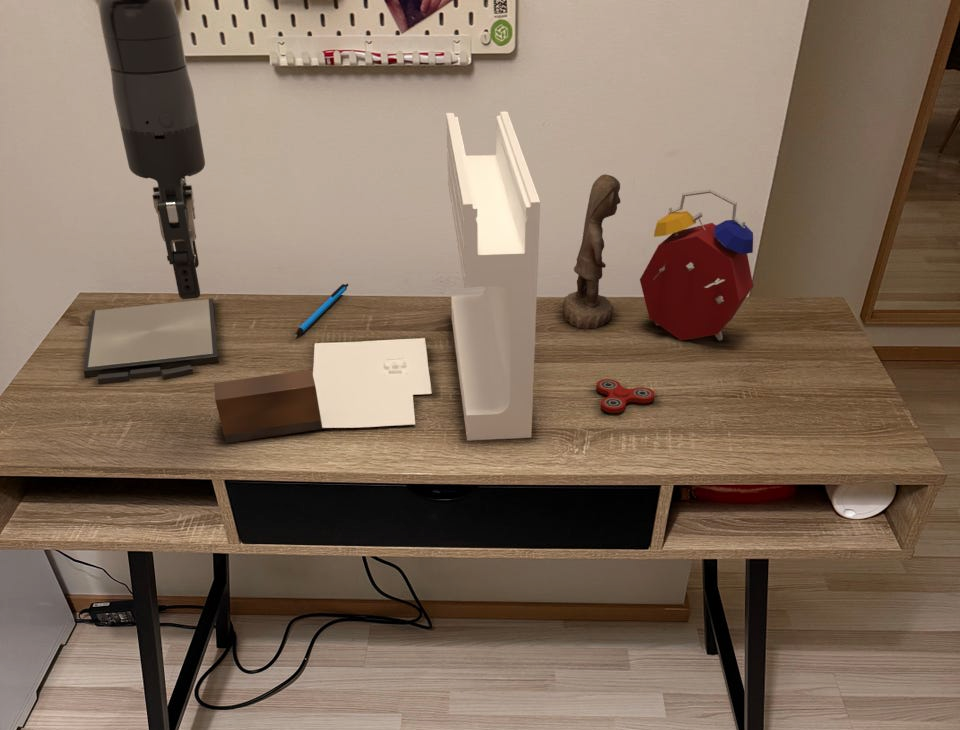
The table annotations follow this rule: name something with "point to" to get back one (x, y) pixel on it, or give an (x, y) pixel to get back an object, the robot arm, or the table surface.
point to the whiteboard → (151, 337)
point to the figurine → (592, 259)
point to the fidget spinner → (621, 395)
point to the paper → (370, 382)
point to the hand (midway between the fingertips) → (189, 281)
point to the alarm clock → (697, 273)
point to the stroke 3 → (177, 372)
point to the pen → (322, 308)
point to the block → (495, 282)
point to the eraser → (268, 406)
